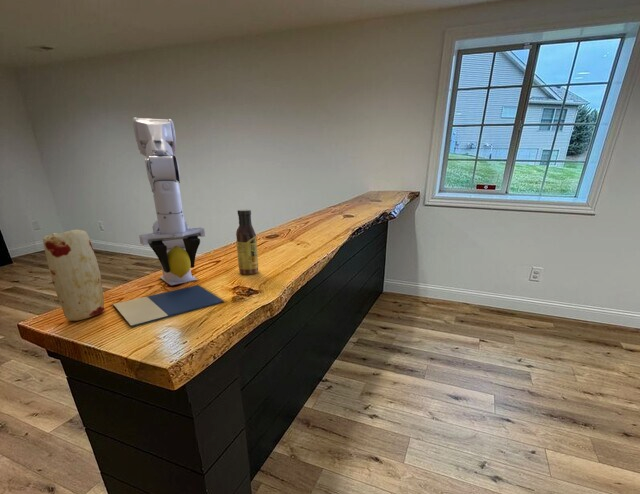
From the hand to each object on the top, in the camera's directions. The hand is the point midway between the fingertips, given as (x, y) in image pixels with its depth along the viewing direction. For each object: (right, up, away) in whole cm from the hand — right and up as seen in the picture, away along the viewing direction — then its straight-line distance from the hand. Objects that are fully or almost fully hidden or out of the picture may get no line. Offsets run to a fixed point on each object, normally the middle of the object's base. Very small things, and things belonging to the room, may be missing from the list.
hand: (179, 269), depth 85 cm
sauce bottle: (+11, +2, +28) cm, 30 cm away
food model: (-20, -12, -4) cm, 23 cm away
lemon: (0, -2, +1) cm, 2 cm away
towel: (-4, -9, +3) cm, 10 cm away
